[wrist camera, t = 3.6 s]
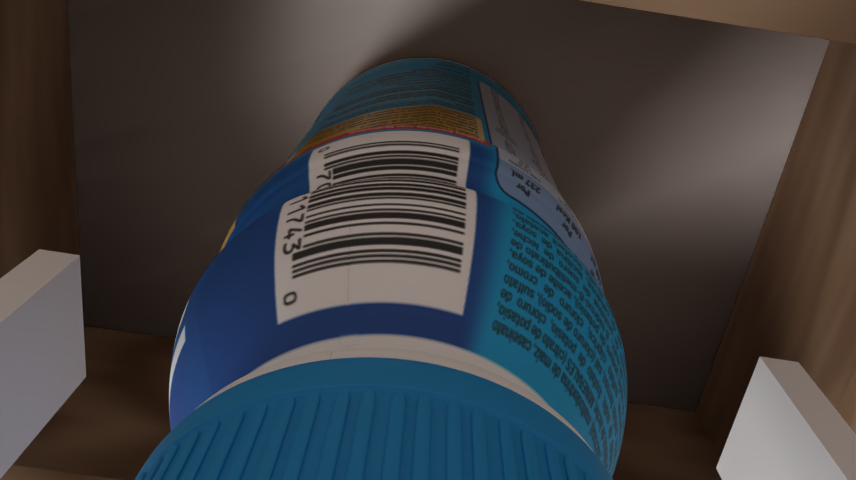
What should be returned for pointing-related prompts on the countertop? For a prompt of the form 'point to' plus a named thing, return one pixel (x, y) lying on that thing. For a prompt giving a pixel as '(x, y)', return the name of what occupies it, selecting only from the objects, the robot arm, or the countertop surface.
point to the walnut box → (644, 425)
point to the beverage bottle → (401, 305)
